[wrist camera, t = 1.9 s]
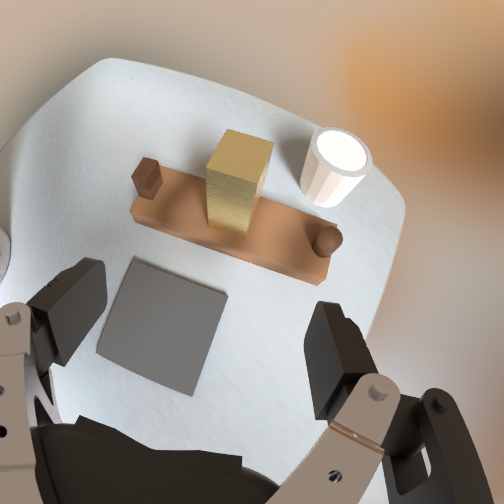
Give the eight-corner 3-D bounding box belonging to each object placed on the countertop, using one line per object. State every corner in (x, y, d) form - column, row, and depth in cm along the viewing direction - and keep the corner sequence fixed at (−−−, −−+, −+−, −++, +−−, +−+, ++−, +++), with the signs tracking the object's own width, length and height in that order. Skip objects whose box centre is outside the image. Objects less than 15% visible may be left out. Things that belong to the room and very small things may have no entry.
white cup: (284, 191, 32) (299, 152, 25) (308, 156, 34) (324, 117, 28) (336, 222, 31) (363, 189, 24) (355, 183, 33) (379, 148, 27)
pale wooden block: (208, 227, 26) (205, 167, 18) (223, 193, 28) (227, 128, 19) (245, 240, 26) (257, 183, 18) (258, 205, 28) (274, 142, 19)
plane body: (135, 222, 28) (119, 191, 23) (160, 178, 30) (151, 143, 25) (318, 286, 28) (341, 267, 22) (329, 235, 30) (352, 208, 25)
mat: (97, 352, 23) (95, 352, 22) (135, 261, 27) (133, 259, 26) (192, 395, 23) (191, 396, 22) (227, 297, 27) (228, 295, 26)
